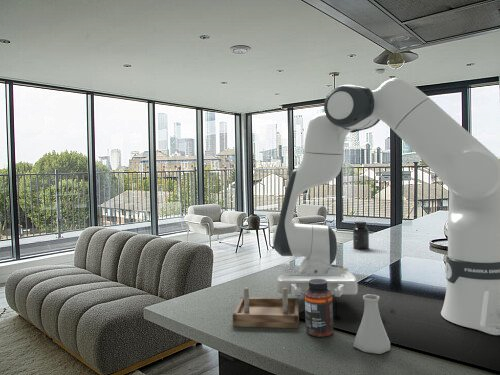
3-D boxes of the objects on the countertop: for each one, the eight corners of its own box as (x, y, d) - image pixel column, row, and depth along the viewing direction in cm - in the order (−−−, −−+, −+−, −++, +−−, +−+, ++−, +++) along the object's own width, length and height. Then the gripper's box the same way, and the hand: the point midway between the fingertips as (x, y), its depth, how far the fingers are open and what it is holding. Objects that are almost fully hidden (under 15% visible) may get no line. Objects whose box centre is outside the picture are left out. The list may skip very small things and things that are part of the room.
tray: (299, 309, 98) (298, 277, 97) (298, 328, 86) (297, 291, 85) (241, 308, 100) (240, 276, 99) (232, 326, 88) (231, 290, 87)
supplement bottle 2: (350, 248, 175) (349, 221, 174) (361, 246, 178) (361, 220, 177) (360, 250, 169) (359, 223, 168) (372, 248, 171) (371, 222, 171)
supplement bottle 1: (329, 326, 86) (328, 276, 86) (336, 337, 80) (335, 284, 80) (303, 327, 86) (302, 277, 86) (308, 338, 80) (307, 285, 80)
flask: (361, 335, 81) (361, 289, 81) (396, 344, 76) (395, 295, 76) (346, 348, 75) (346, 298, 75) (383, 358, 71) (382, 305, 70)
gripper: (277, 266, 106) (273, 279, 92) (352, 266, 103) (360, 280, 90) (278, 288, 106) (274, 305, 93) (353, 289, 104) (361, 307, 90)
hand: (317, 293), depth 91 cm, fingers open, 8 cm apart
